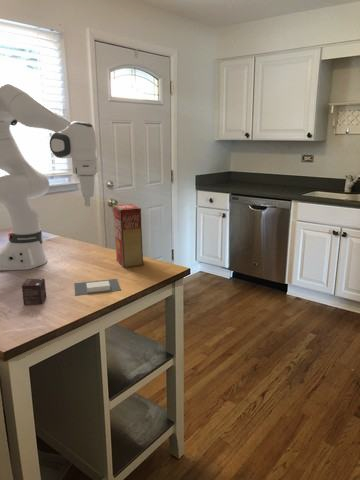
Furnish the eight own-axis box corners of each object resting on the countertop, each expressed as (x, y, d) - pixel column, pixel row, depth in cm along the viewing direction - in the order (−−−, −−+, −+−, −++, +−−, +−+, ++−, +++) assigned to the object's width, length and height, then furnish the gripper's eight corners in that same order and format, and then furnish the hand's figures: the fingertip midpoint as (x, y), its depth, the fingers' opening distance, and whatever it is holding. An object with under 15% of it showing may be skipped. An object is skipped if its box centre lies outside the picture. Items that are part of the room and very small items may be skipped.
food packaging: (115, 259, 175) (112, 204, 168) (135, 256, 178) (133, 203, 172) (123, 268, 163) (120, 209, 157) (144, 265, 167) (142, 208, 160)
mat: (75, 296, 135) (75, 295, 135) (74, 284, 146) (74, 283, 146) (121, 291, 139) (121, 290, 139) (117, 279, 150) (116, 278, 150)
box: (29, 298, 133) (26, 278, 131) (47, 298, 133) (44, 278, 132) (23, 306, 127) (21, 285, 125) (42, 305, 128) (40, 284, 126)
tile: (86, 287, 141) (87, 292, 137) (86, 282, 141) (87, 287, 136) (108, 285, 143) (110, 290, 139) (108, 280, 143) (109, 285, 138)
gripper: (75, 166, 149) (77, 201, 153) (77, 170, 130) (79, 211, 134) (92, 165, 151) (94, 201, 154) (96, 170, 132) (98, 210, 135)
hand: (87, 205), depth 144 cm, fingers closed
